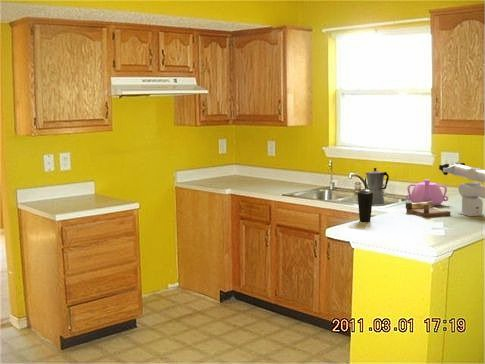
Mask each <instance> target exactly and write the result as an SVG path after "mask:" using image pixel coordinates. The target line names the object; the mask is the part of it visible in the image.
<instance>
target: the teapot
mask: <svg viewBox="0 0 485 364" xmlns="http://www.w3.org/2000/svg"><path fill="white" fill-rule="evenodd" d="M410 187H413V189H412V192H411V189H410ZM440 187H442V188H444V192H442V189H441V188H440ZM406 189H407V194H406V196H405V199H406V200H407V201H411V202H410V203H421V202H427V201H433V207H436V206H441V204H442V203H443V202H448V201H449V197H448V196H447V190H448V188H447V186H446V185H444V184H442V183H441V184H438V183H436V182H431V179H423V182H417V183H410V184H409V185H408V186H407V188H406ZM445 198H446V199H445Z"/></svg>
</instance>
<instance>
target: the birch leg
mask: <svg viewBox="0 0 485 364" xmlns="http://www.w3.org/2000/svg"><path fill="white" fill-rule="evenodd" d="M424 204H429V207H434V206H433V201H427V202H421V203H412V202H405V209H406V210H407V209H415V208H424Z"/></svg>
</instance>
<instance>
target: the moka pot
mask: <svg viewBox="0 0 485 364" xmlns="http://www.w3.org/2000/svg"><path fill="white" fill-rule="evenodd" d="M365 175H366V182H367V186H368V190H371V191H372V192H374V193H373V200H372V206H375V205H376V206H377V205H384V204H385V197H384V191H383V190H386V189H387V187H388V186H387V185H388V182H389V179H390V176H389V174H388V172H387V171H380V170H377V167H373V171H368V172H366V173H365ZM384 177H386V179H385V178H384ZM384 180H385V183H384Z"/></svg>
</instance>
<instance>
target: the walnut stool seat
mask: <svg viewBox="0 0 485 364" xmlns="http://www.w3.org/2000/svg"><path fill="white" fill-rule="evenodd" d="M406 213H407V214H412V215H414V216H419V217H421V216H422V218H438V217H451V211H450V210H446V209H442V208H438V207H435V206H433V207H429V204H424V208H415V209H406Z"/></svg>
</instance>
